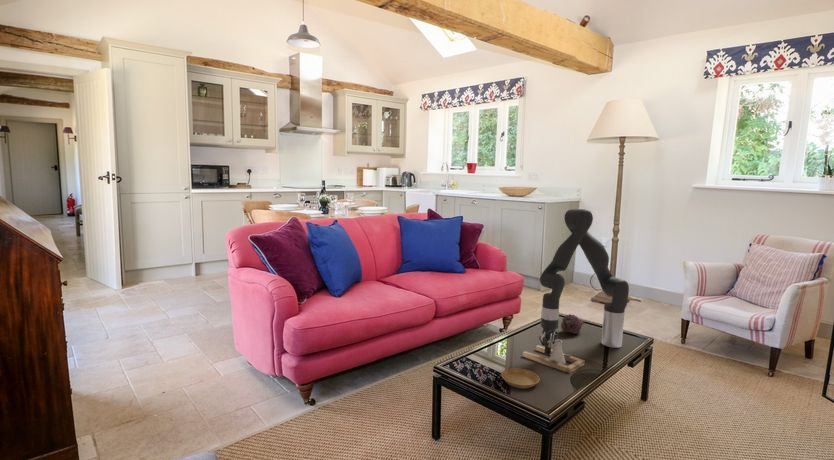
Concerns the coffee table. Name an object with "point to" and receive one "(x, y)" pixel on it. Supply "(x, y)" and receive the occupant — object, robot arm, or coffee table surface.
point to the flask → (558, 352)
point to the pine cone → (571, 324)
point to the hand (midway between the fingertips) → (547, 354)
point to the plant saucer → (520, 377)
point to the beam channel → (569, 369)
